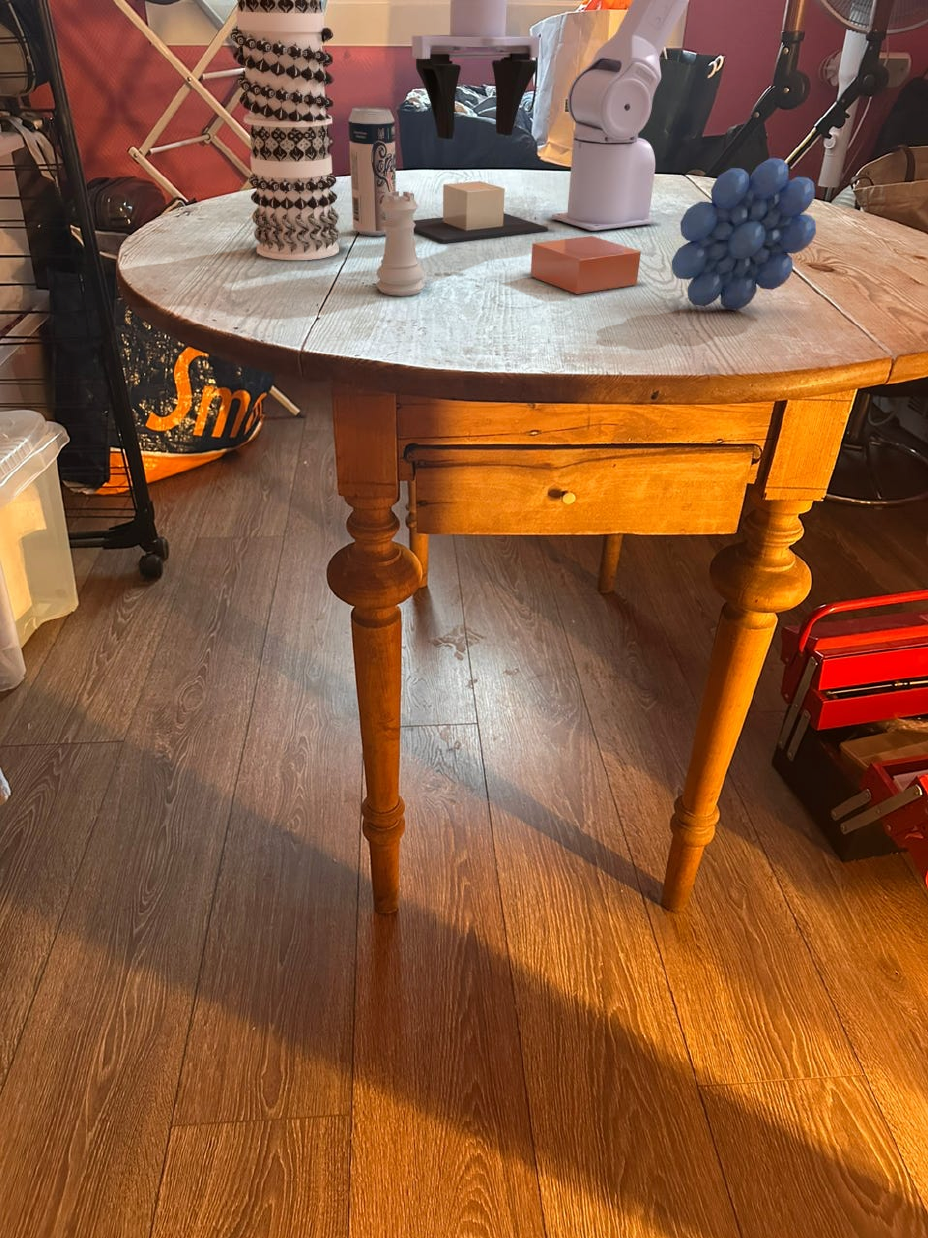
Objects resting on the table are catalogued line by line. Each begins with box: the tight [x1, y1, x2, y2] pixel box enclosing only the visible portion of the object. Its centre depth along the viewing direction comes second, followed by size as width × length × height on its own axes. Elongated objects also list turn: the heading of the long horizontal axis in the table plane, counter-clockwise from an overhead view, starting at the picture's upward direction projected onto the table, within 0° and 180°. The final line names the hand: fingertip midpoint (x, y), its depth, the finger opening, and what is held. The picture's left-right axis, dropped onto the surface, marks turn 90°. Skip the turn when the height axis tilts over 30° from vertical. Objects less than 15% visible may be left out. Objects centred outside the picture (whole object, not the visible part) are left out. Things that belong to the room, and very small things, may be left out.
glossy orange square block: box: [529, 235, 642, 295], centre depth 86 cm, size 7×7×3 cm
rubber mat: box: [413, 212, 549, 244], centre depth 105 cm, size 14×10×1 cm
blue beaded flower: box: [671, 157, 817, 311], centre depth 78 cm, size 12×7×12 cm, turn 91°
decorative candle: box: [229, 0, 340, 261], centre depth 87 cm, size 9×9×25 cm
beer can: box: [348, 107, 397, 237], centre depth 99 cm, size 5×5×12 cm
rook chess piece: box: [375, 190, 426, 297], centre depth 81 cm, size 4×4×8 cm
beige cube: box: [442, 180, 505, 231], centre depth 104 cm, size 5×5×4 cm
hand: (475, 135), depth 100 cm, fingers open, 7 cm apart
